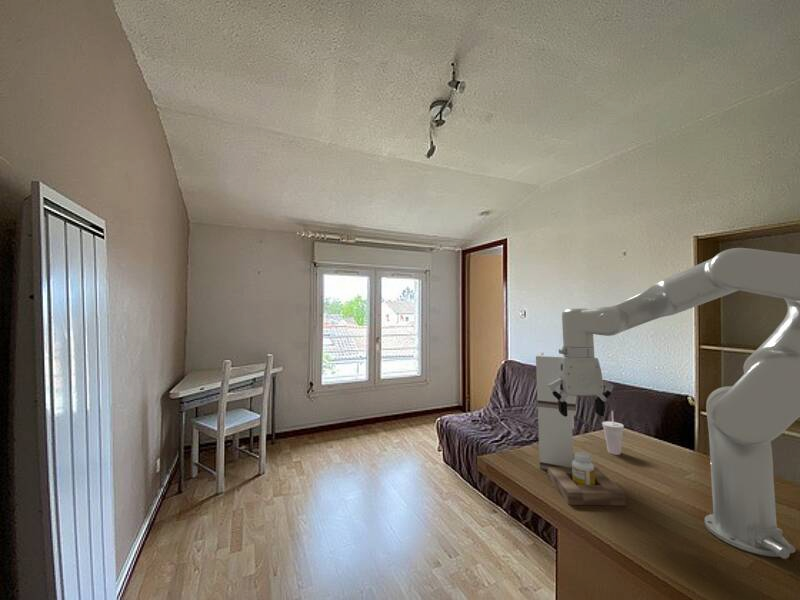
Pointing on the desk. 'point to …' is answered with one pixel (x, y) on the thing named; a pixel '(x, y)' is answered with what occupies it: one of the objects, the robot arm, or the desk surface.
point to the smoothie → (613, 436)
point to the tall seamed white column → (553, 417)
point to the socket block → (586, 488)
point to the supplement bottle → (583, 469)
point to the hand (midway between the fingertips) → (581, 415)
